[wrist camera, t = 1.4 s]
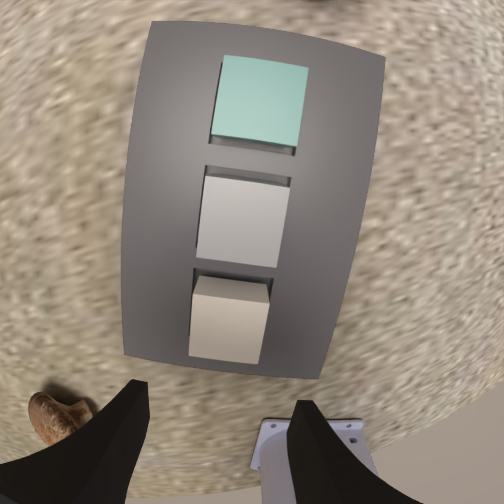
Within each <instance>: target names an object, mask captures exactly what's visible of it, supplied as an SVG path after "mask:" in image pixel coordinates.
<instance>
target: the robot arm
mask: <svg viewBox="0 0 504 504" xmlns="http://www.w3.org/2000/svg"><path fill="white" fill-rule="evenodd" d="M149 419H150V411H149V398H148V382H144V381H139V380H134V379H132V380H130V381H129V382H128V384H127V385H126V386H125V387H124V388H123V389H122V390H121V391H120V392H119V393H118V394H117V395H116V396H115V397H114V398H113V399H112V400H111V401H110V402H109V403H108V404H107V405H106V406H105V407H104V408H103V409H102V410H101V411H100V412H98V413H97V414H96V415H95V416H94V417H93V418H91V419H90V420H89V421H88V422H86V423H85V424H84V425H83V426H81V427H80V428H79V429H77V430H76V431H74V432H73V433H71V434H70V435H68V436H67V437H65V438H64V439H62V440H60V441H58V442H57V443H55V444H53V445H51V446H49V447H47V448H45V449H43V450H41V451H38V452H36V453H34V454H31V455H29V456H27V457H24V458H21V459H17V460H14V461H10V462H7V463H3V464H0V504H125V499H126V494H127V489H128V486H129V482H130V479H131V476H132V473H133V471H134V468H135V465H136V462H137V460H138V457H139V454H140V451H141V448H142V446H143V443H144V440H145V437H146V432H147V428H148V424H149ZM272 424H274V425H272ZM363 425H364V423H363V420H326V419H325V417H324V416H323V415H322V413H321V412H320V410H319V409H318V407H317V406H316V404H315V403H314V402H313V400H297V403H296V406H295V409H294V412H293V415H292V418H291V420H276V419H265V420H263V421H262V423H261V427H260V431H259V435H258V438H257V442H256V445H255V449H254V453H253V456H252V460H251V463H250V468H251V469H253V470H260V473H261V490H262V504H423V503H420V502H418V501H416V500H414V499H412V498H410V497H408V496H406V495H404V494H403V493H401V492H399V491H398V490H396V489H394V488H393V487H392V486H390V485H389V484H387V483H386V482H385V481H383V480H382V479H380V478H379V477H378V473H377V470H376V468H375V465H374V462H373V459H372V457H371V454H370V451H369V449H368V446H367V443H366V441H365V438H364V435H363V433H362V430H361V429H362V427H363Z"/></svg>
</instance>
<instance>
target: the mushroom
mask: <svg viewBox="0 0 504 504" xmlns="http://www.w3.org/2000/svg"><path fill="white" fill-rule="evenodd" d="M28 412H29V418H30V421H31V423H32V425H33V427H34V429H35V431H36V432H37V433H38V435H39V436H40V437H41V438H42V439H43V441H44V442H45V443H46V444H47V445H48V446H51V445H53V444H55V443H57V442H58V441H60V440H62V439H64V438H65V437H67V436H68V435H70V434H71V433H73V432H74V431H76V430H77V429H79V428H80V427H81V426H83V425H84V424H85V423H86V422H88V421H89V420H90V419H91V418H93V414H92V412H91V410H90V408H89V406H88V404H87V403H86V401H85V400H83V399H82V400H81V401H79V402H78V403H76V404H74V405H71V406H67V405H64V404H61V403H59V402H57V401H55V400H54V399H53V398H51V397H50V396H49V395H48V394H45V393H43V392H37V393H35V394H34V395H33V396H32V397H31V399H30V401H29V406H28Z"/></svg>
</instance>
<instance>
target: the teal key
mask: <svg viewBox="0 0 504 504" xmlns="http://www.w3.org/2000/svg"><path fill="white" fill-rule="evenodd" d="M307 76H308V68H307V67H302V66H297V65H292V64H286V63H281V62H275V61H269V60H262V59H255V58H247V57H239V56H230V55H224V60H223V65H222V71H221V76H220V82H219V88H218V94H217V100H216V106H215V112H214V119H213V125H212V132H211V134H212V135H214V136H215V137H218V138H227V139H235V140H242V141H249V142H256V143H263V144H269V145H276V146H282V147H287V148H291V147H297V143H298V137H299V130H300V123H301V117H302V110H303V103H304V97H305V90H306V83H307Z"/></svg>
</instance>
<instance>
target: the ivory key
mask: <svg viewBox="0 0 504 504" xmlns="http://www.w3.org/2000/svg"><path fill="white" fill-rule="evenodd" d="M269 305H270V303H269V297H268V291H267V285H266V284H260V283H252V282H244V281H236V280H229V279H221V278H214V277H207V276H199V278H198V281H197V284H196V286H195V289H194V292H193V299H192V312H191V326H190V341H189V356H193V357H200V358H207V359H215V360H223V361H231V362H240V363H249V364H258V361H259V356H260V351H261V346H262V341H263V336H264V331H265V325H266V320H267V315H268V310H269Z"/></svg>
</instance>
